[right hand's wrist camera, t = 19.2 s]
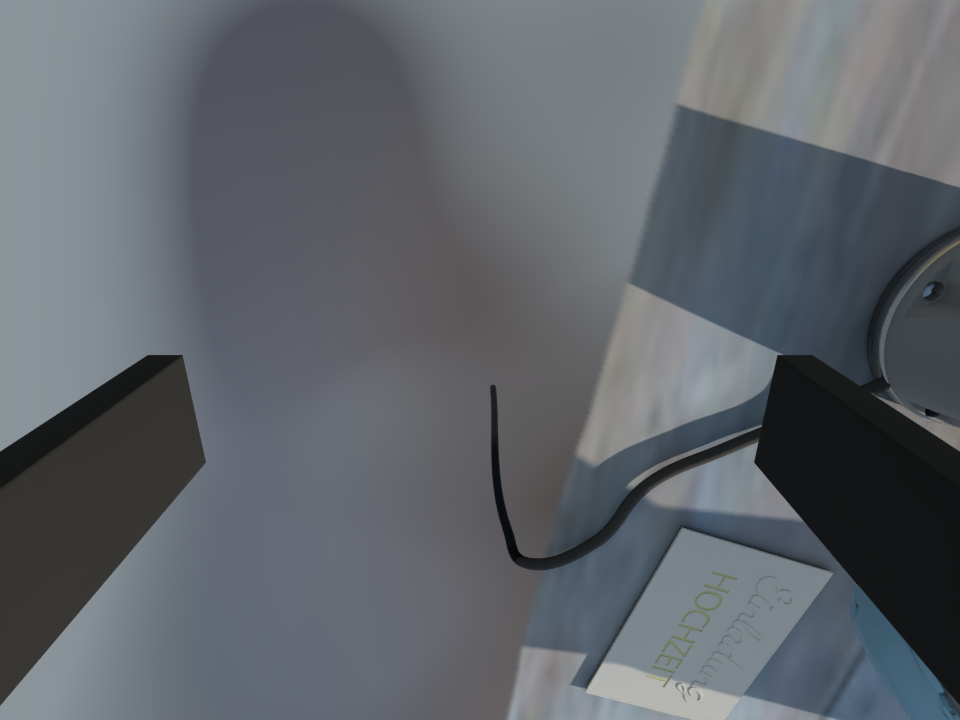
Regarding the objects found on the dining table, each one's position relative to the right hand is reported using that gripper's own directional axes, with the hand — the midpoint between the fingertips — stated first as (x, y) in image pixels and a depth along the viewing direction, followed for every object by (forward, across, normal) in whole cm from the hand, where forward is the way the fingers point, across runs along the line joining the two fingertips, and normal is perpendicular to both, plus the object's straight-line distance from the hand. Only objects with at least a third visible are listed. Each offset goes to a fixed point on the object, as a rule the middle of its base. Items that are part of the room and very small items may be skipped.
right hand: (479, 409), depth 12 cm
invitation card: (+28, -21, +38) cm, 52 cm away
